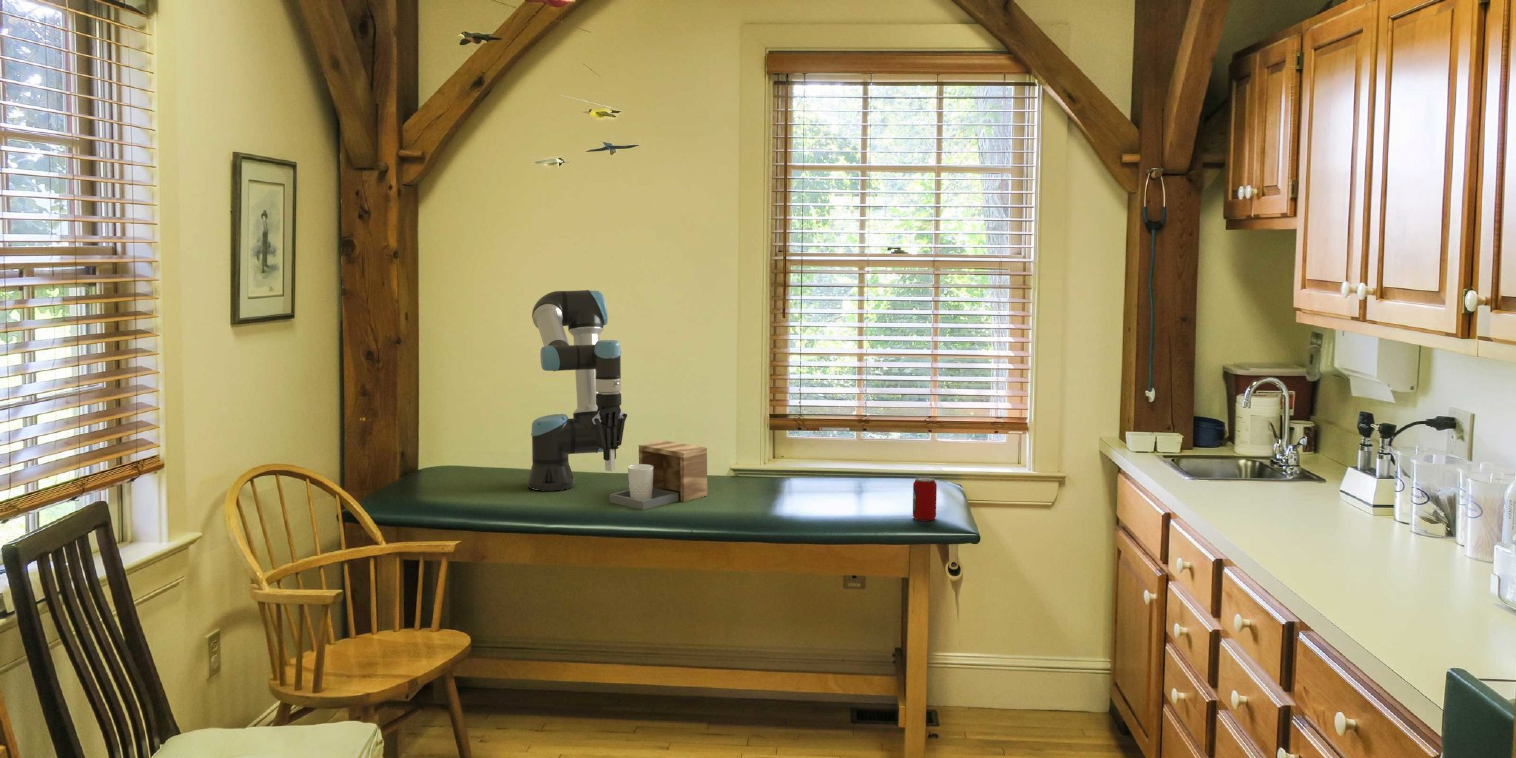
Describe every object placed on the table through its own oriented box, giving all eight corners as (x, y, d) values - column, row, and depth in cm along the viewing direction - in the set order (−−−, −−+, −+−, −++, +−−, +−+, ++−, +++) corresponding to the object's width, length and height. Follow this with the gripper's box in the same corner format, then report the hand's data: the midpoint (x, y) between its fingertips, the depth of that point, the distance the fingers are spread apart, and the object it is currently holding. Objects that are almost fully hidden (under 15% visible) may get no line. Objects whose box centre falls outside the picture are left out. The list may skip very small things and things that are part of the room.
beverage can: (919, 514, 342) (919, 475, 340) (939, 518, 338) (940, 477, 336) (908, 519, 336) (909, 479, 335) (929, 523, 332) (930, 482, 331)
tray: (609, 502, 357) (609, 494, 357) (644, 493, 369) (644, 485, 368) (643, 509, 348) (643, 501, 347) (678, 500, 359) (678, 492, 359)
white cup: (650, 501, 354) (650, 469, 352) (625, 501, 354) (625, 469, 353) (656, 495, 361) (655, 464, 360) (631, 495, 362) (631, 463, 361)
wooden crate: (639, 492, 370) (638, 444, 368) (662, 486, 378) (662, 440, 376) (684, 502, 357) (683, 452, 355) (707, 496, 365) (707, 447, 363)
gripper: (600, 395, 335) (602, 475, 338) (633, 391, 345) (634, 468, 348) (583, 393, 340) (585, 472, 343) (616, 389, 350) (617, 465, 353)
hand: (610, 470), depth 346 cm, fingers closed
